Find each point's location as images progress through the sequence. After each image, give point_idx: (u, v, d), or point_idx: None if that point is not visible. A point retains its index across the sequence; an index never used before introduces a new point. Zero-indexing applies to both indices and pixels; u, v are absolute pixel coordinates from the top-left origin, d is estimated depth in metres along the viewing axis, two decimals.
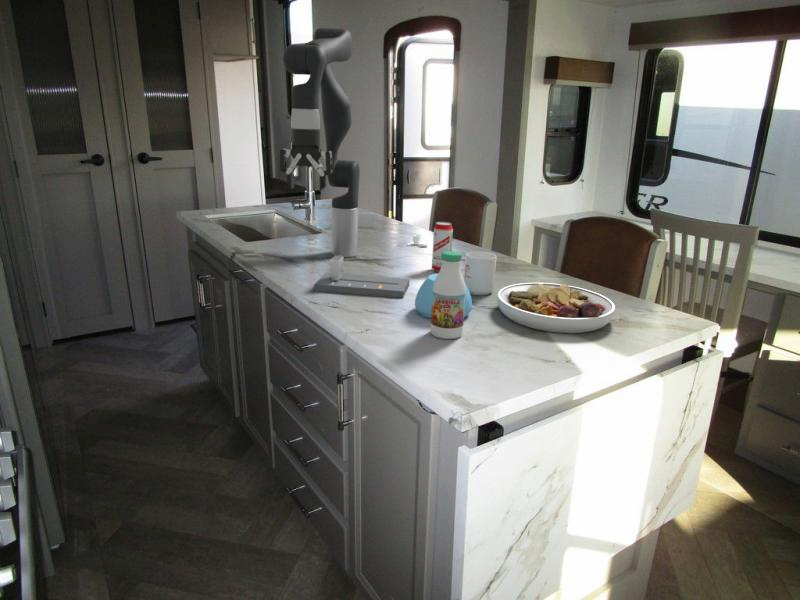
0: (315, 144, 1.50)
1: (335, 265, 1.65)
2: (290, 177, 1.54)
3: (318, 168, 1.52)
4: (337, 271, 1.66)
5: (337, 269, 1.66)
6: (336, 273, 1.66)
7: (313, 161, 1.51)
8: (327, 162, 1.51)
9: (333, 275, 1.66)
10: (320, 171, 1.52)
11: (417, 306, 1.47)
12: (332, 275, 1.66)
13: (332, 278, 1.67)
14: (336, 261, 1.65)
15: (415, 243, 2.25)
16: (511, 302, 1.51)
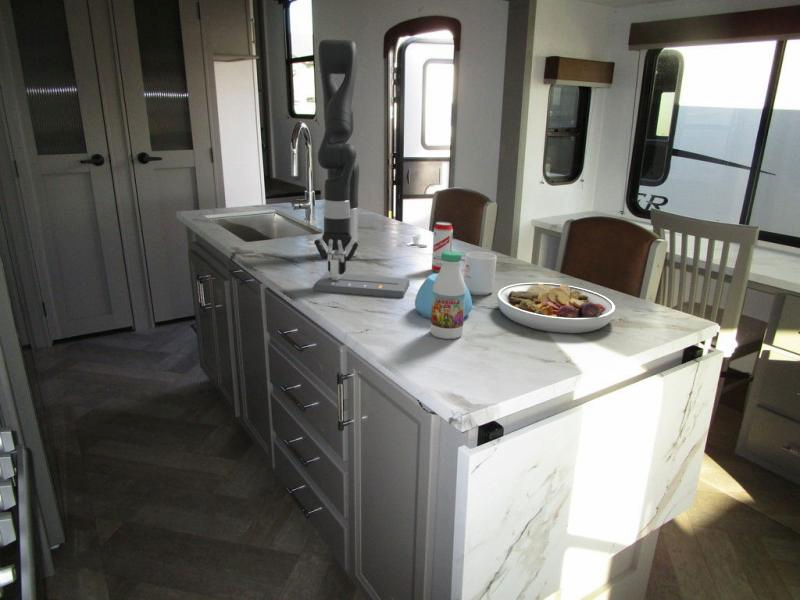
0: (346, 231, 1.63)
1: (335, 265, 1.65)
2: None
3: (342, 254, 1.66)
4: (337, 271, 1.66)
5: (337, 269, 1.66)
6: (336, 273, 1.66)
7: (341, 247, 1.65)
8: (351, 251, 1.65)
9: (333, 275, 1.66)
10: (340, 258, 1.66)
11: (417, 306, 1.47)
12: (332, 275, 1.66)
13: (332, 278, 1.67)
14: (336, 261, 1.65)
15: (415, 243, 2.25)
16: (511, 302, 1.51)
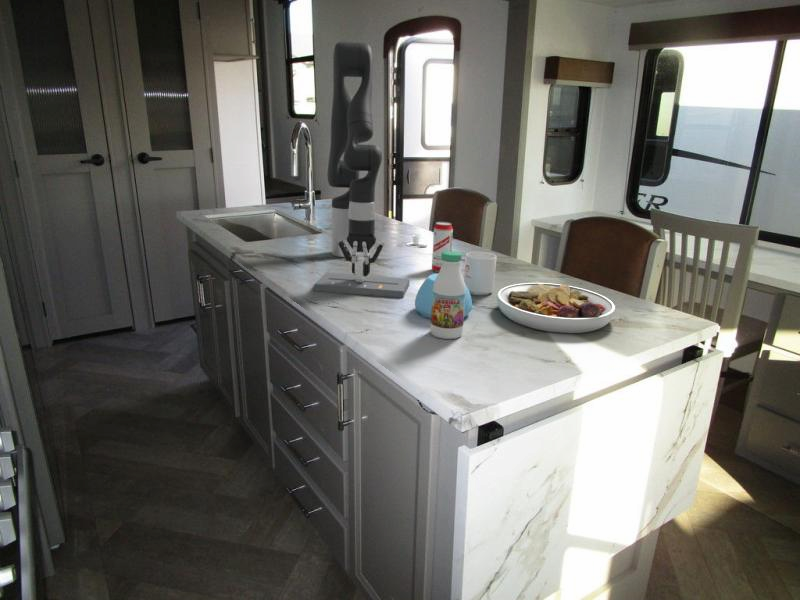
0: (371, 233, 1.62)
1: (359, 267, 1.64)
2: None
3: (366, 256, 1.65)
4: (361, 273, 1.65)
5: (362, 271, 1.65)
6: (360, 275, 1.65)
7: (365, 249, 1.64)
8: (376, 253, 1.64)
9: (357, 277, 1.65)
10: (365, 260, 1.65)
11: (417, 306, 1.47)
12: (356, 277, 1.65)
13: (356, 280, 1.66)
14: (361, 263, 1.64)
15: (415, 243, 2.25)
16: (511, 302, 1.51)
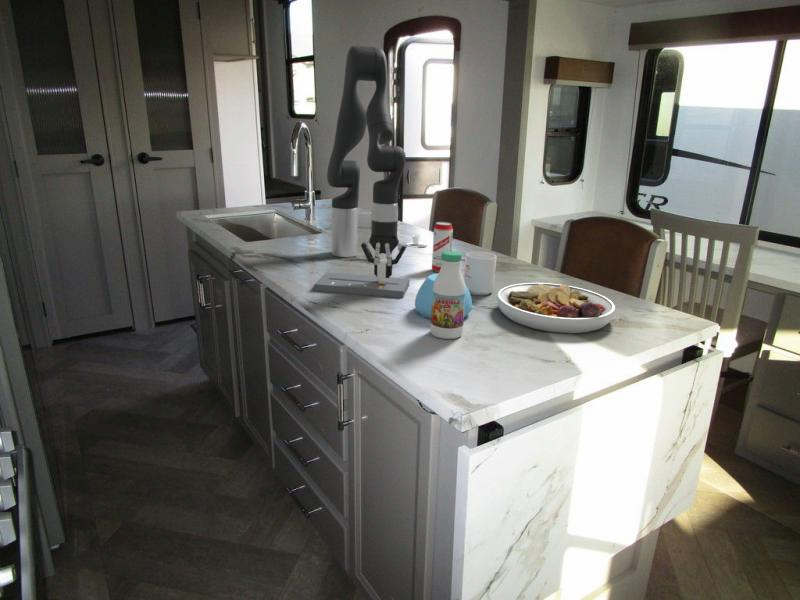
0: (394, 234, 1.61)
1: (382, 269, 1.63)
2: None
3: (389, 258, 1.64)
4: (384, 275, 1.64)
5: (384, 273, 1.64)
6: (383, 277, 1.64)
7: (388, 251, 1.63)
8: (399, 254, 1.63)
9: (380, 279, 1.65)
10: (387, 261, 1.64)
11: (417, 306, 1.47)
12: (379, 279, 1.65)
13: (379, 282, 1.65)
14: (383, 265, 1.63)
15: (414, 243, 2.25)
16: (511, 302, 1.51)
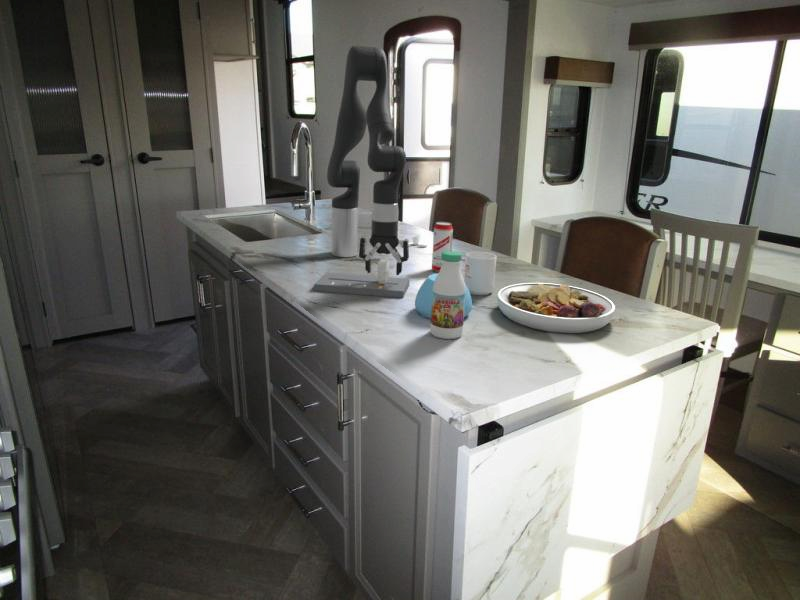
0: (394, 234, 1.61)
1: (382, 269, 1.63)
2: (369, 263, 1.66)
3: (396, 256, 1.63)
4: (384, 275, 1.64)
5: (384, 273, 1.64)
6: (383, 277, 1.64)
7: (391, 249, 1.63)
8: (404, 250, 1.63)
9: (380, 279, 1.65)
10: (397, 258, 1.64)
11: (417, 306, 1.47)
12: (379, 279, 1.65)
13: (379, 282, 1.65)
14: (384, 265, 1.63)
15: (414, 243, 2.25)
16: (511, 302, 1.51)
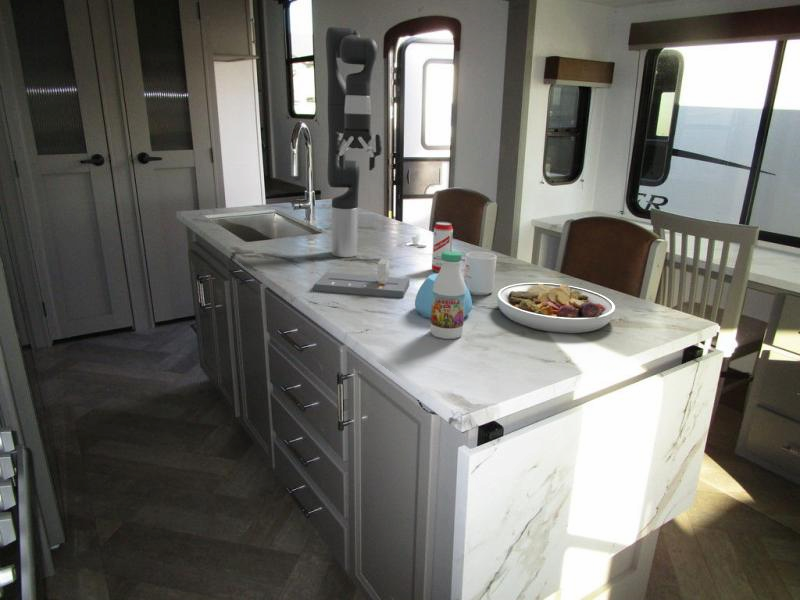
0: (367, 128, 1.65)
1: (382, 269, 1.63)
2: (342, 158, 1.69)
3: (368, 150, 1.67)
4: (384, 275, 1.64)
5: (384, 273, 1.64)
6: (383, 277, 1.64)
7: (364, 143, 1.66)
8: (377, 144, 1.67)
9: (380, 279, 1.65)
10: (370, 152, 1.68)
11: (417, 306, 1.47)
12: (379, 279, 1.65)
13: (379, 282, 1.65)
14: (384, 265, 1.63)
15: (414, 243, 2.24)
16: (511, 302, 1.51)
